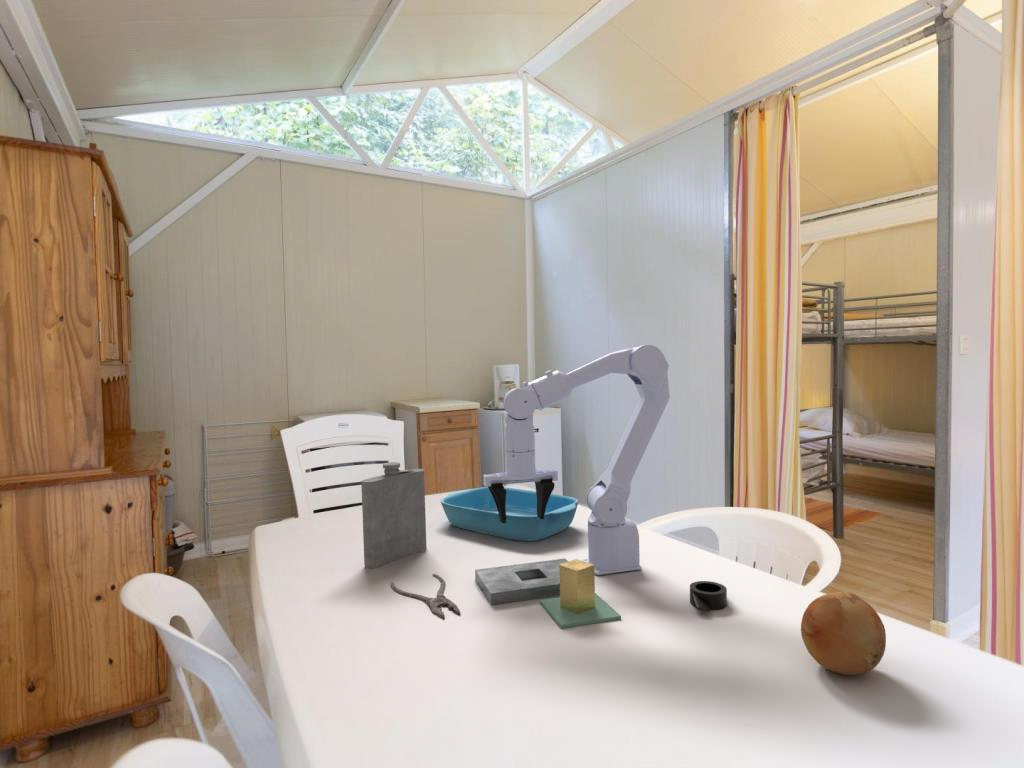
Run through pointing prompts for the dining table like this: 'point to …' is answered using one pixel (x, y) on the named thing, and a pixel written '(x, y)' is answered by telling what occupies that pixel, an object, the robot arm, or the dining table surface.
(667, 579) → the dining table surface
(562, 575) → the brushed gold bar
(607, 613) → the green mat
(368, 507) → the hip flask
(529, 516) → the casserole dish
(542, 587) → the grey board with hole
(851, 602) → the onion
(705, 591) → the duct tape
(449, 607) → the pliers
